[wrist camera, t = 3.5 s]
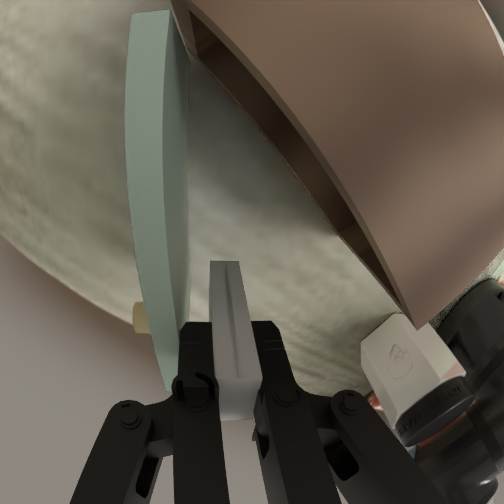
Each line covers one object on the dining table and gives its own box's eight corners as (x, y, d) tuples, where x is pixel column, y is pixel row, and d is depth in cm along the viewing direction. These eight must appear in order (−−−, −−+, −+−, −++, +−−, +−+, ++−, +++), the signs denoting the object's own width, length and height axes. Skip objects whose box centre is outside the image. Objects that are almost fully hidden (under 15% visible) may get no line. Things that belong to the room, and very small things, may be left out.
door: (144, 65, 12) (77, 25, 4) (190, 62, 12) (170, 9, 5) (154, 281, 19) (133, 390, 11) (190, 280, 19) (188, 391, 11)
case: (431, 160, 18) (532, 210, 9) (338, 236, 20) (417, 331, 11) (317, -24, 10) (405, -91, 2) (188, 50, 12) (162, -24, 4)
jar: (408, 296, 24) (476, 385, 14) (429, 325, 28) (482, 397, 18) (342, 353, 27) (387, 451, 16) (374, 372, 30) (413, 449, 20)
